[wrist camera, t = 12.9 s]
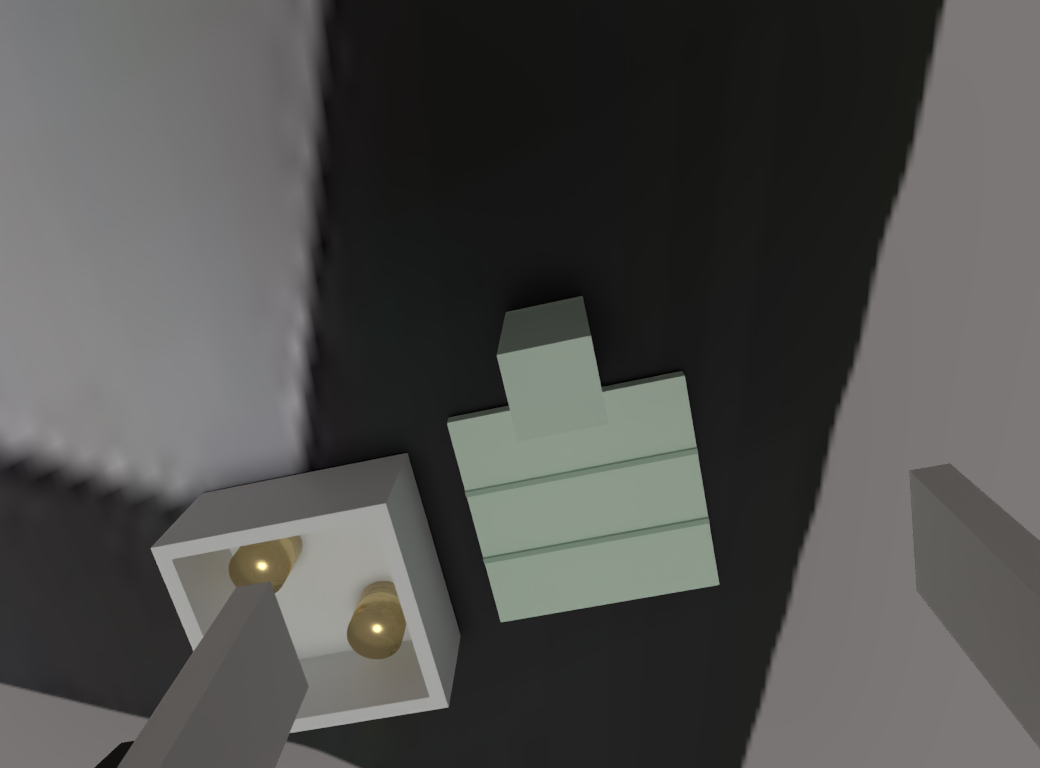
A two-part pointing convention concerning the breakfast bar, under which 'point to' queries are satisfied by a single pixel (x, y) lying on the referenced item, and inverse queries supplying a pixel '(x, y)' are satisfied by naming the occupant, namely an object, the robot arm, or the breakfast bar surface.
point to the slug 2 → (377, 622)
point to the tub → (328, 582)
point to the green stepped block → (581, 476)
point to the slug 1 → (265, 562)
